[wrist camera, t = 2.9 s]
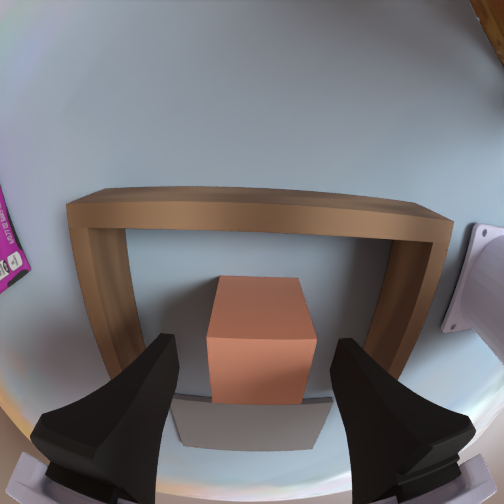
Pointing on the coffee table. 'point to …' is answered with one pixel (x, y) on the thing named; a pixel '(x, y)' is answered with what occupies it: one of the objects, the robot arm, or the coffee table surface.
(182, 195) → the walnut arch
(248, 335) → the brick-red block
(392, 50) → the coffee table surface
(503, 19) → the lantern
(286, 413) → the grey mat
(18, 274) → the candy bar box
